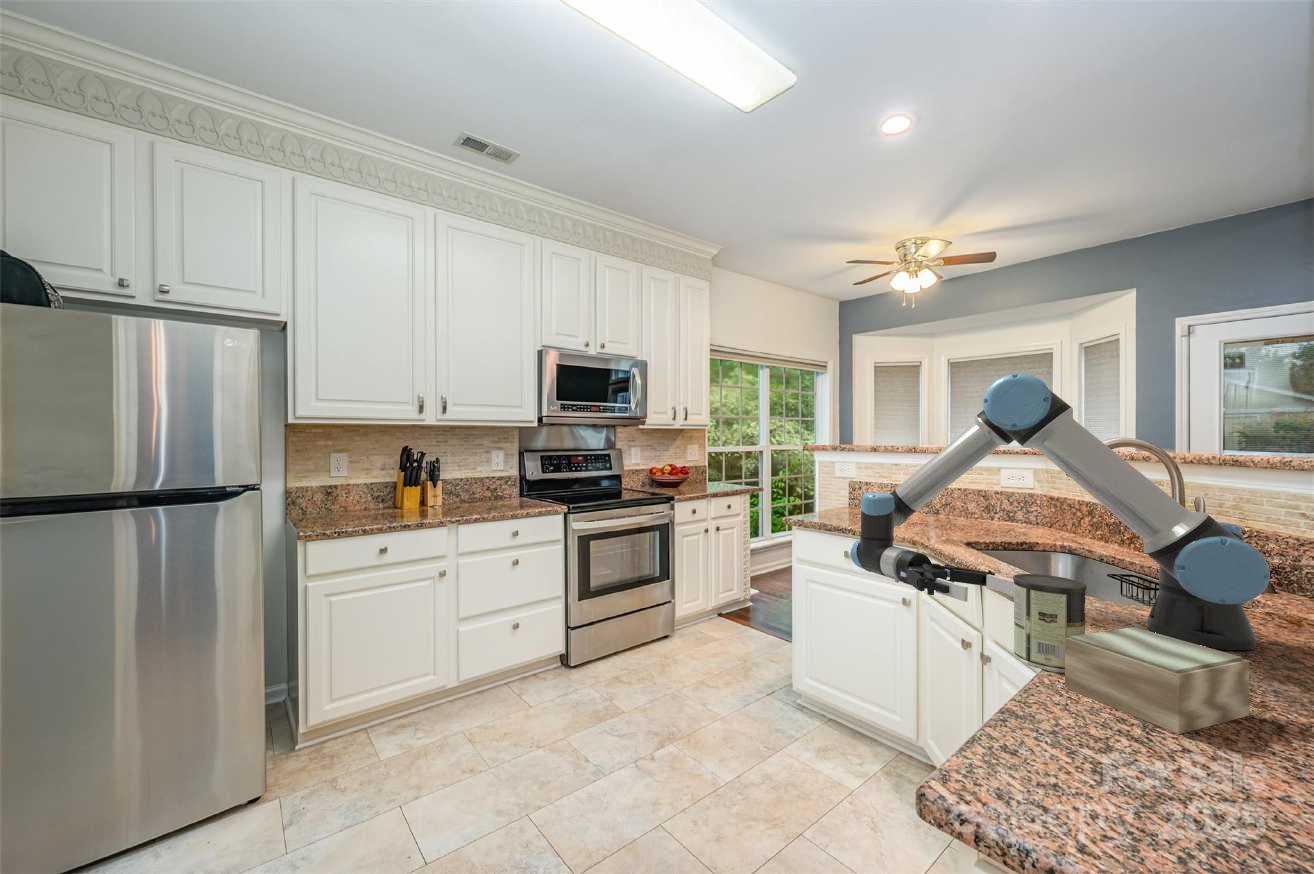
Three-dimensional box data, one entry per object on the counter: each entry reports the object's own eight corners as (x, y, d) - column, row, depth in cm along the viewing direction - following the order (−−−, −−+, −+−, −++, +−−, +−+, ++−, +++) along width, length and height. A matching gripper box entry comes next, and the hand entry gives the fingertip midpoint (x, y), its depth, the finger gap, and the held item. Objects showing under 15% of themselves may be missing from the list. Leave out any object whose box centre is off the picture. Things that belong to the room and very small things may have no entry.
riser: (1131, 674, 88) (1131, 625, 88) (1249, 715, 75) (1249, 658, 75) (1064, 687, 83) (1065, 635, 83) (1178, 734, 69) (1178, 672, 70)
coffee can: (1065, 653, 97) (1065, 575, 97) (1100, 677, 87) (1100, 590, 87) (1002, 648, 99) (1002, 571, 99) (1029, 670, 89) (1029, 585, 89)
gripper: (947, 579, 126) (1038, 606, 106) (862, 586, 118) (942, 616, 98) (948, 547, 127) (1039, 568, 107) (862, 552, 118) (943, 575, 98)
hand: (993, 591), depth 102 cm, fingers open, 13 cm apart
